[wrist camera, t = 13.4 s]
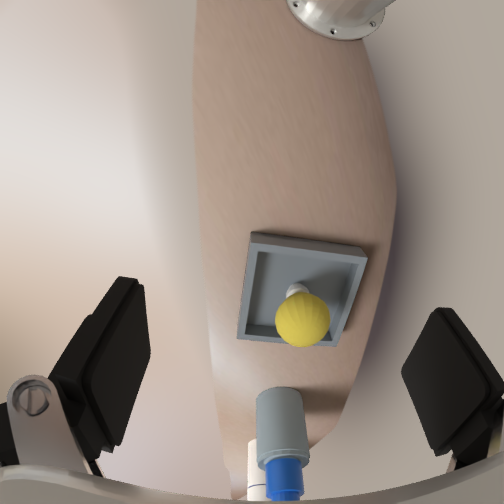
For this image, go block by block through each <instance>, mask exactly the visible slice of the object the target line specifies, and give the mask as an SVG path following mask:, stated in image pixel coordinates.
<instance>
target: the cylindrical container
mask: <svg viewBox="0 0 504 504" xmlns="http://www.w3.org/2000/svg"><path fill="white" fill-rule="evenodd" d="M247 495H248V496H247V499H248V500H247V501H271V499H269V498H267V497H266V476H265V471H263V470H261V469H260V468H259V467H258V463H257V450H256V439H254V440H252V441H250V442H249V444H248V492H247Z"/></svg>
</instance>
